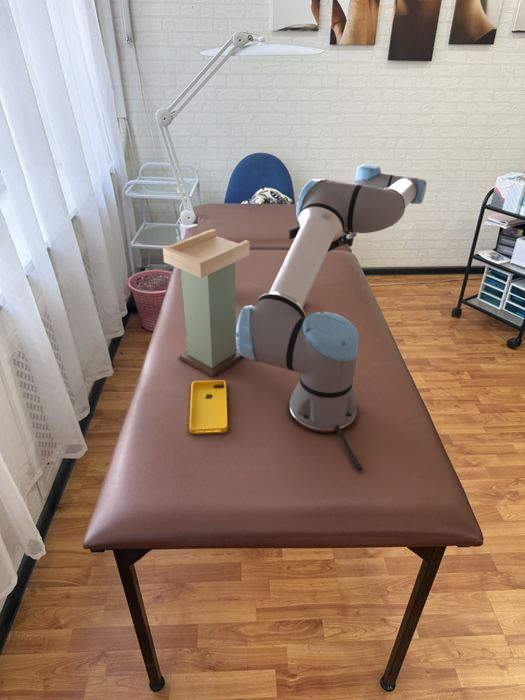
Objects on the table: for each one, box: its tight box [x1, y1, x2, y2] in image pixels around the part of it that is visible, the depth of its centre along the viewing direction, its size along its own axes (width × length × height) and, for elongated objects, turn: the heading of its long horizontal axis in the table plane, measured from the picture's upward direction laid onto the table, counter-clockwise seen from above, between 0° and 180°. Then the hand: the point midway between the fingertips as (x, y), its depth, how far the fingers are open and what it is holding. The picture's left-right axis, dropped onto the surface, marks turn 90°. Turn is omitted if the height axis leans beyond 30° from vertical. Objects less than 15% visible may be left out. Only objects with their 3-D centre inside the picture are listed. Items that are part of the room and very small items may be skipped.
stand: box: [162, 228, 251, 378], centre depth 124 cm, size 16×12×32 cm
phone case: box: [188, 379, 229, 435], centre depth 116 cm, size 8×17×1 cm, turn 5°
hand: (308, 240), depth 148 cm, fingers open, 13 cm apart
